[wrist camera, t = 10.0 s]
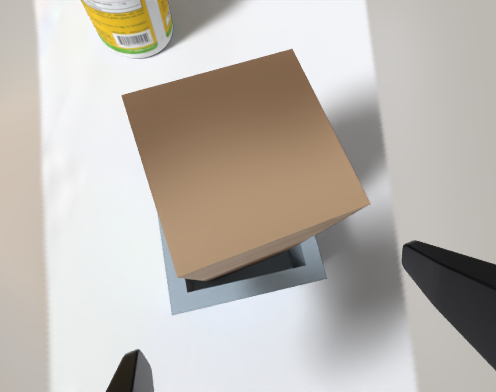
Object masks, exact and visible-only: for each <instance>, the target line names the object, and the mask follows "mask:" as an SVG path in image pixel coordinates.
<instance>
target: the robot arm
mask: <svg viewBox="0 0 496 392" xmlns="http://www.w3.org/2000/svg"><path fill="white" fill-rule="evenodd" d="M402 265H403V267H404V269H405V270H406V271H407V273H408V274H409V275H410V276H411V278H412V279H413V280H414V282H415V283H416V284H417V285H418V287H419V288H420V289H421V290H422V292H423V293H424V294H425V295H426V297H427V298H428V299H429V300H430V302H431V303H432V304H433V305H434V306H435V307H436V309H438V311H439V312H440V313H441V314H442V315H443V316H444V317H445V318H446V319H447V320H448V321H449V322H450V323H451V324H452V325H453V326H454V327H455V328H456V330H458V332H459V333H460V334H461V335H462V336H463V337H464V338H465V339H466V340H467V341H468V342H469V343H470V344H471V345H472V346H473V347H474V348H475V349H476V350H477V352H479V353H480V355H481V356H482V357H483V358H484V359H485V360H486V361H487V362H488V363H489V364H490V365H491V366H492V367H493V368H494V369H495V370H496V265H495V264H492V263H489V262H486V261H482V260H479V259H476V258H472V257H469V256H466V255H463V254H459V253H456V252H453V251H449V250H446V249H443V248H439V247H436V246H433V245H430V244H426V243H423V242H419V241H411V242H409V243H406V244H404V245H403V250H402ZM106 392H154V387H153V378H152V370H151V367H150V364H149V363H148V361H147V359H146V358H145V356H144V355H143V353H142V352H141V351H140V350H139V349H137V350H134V351H131V352H129V353H127V354H125V355H124V357H123V358H122V360H121V362H120V364H119V366H118V368H117V370H116V372H115V374H114V376H113V378H112V380H111V382H110V384H109V386H108V388H107V390H106Z"/></svg>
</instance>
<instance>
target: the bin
mask: <svg viewBox="0 0 496 392" xmlns="http://www.w3.org/2000/svg"><path fill="white" fill-rule="evenodd" d="M158 219H159V216H158ZM159 226H160V233H161V240H162V247H163V255H164V262H165V269H166V276H167V283H168V290H169V297H170V304H171V311H172V315H176V314H180V313H184V312H188V311H193V310H197V309H201V308H205V307H210V306H214V305H218V304H222V303H226V302H231V301H235V300H239V299H243V298H247V297H252V296H256V295H260V294H264V293H269V292H273V291H277V290H281V289H285V288H290V287H294V286H298V285H302V284H306V283H311V282H315V281H319V280H323V279H327V277H326V274H325V270H324V267H323V263H322V260H321V256H320V253H319V249H318V245H317V242H316V238H315V236H313V237H311V238H309V239H308V240H306V241H304V242H302V243H301V244H299V245H297V246H295V247H293V248H292V249H290V250H288V251H286V252H285V253H282V254H280V255H277V256H275V257H272V258H270V259H267V260H264V261H262V262H259V263H257V264H254V265H252V266H249V267H247V268H244V269H241V270H239V271H236V272H234V273H231V274H229V275H226V276H223V277H221V278H218V279H216V280H213V281H211V282H209V281H201V280H193V279H185V278H177V274H176V271H175V268H174V265H173V261H172V258H171V255H170V252H169V248H168V245H167V242H166V239H165V235H164V232H163V229H162V226H161V222H160V219H159Z"/></svg>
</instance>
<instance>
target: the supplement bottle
mask: <svg viewBox="0 0 496 392" xmlns="http://www.w3.org/2000/svg"><path fill="white" fill-rule="evenodd" d="M81 2H82V4H83V6H84V7H85V9H86V11H87V13H88V15H89V17H90V19H91V21H92V23H93V25H94V27H95V28H96V30H97V32H98V34H99V36H100V38H101V40H102V41H103V43H104V44H105V45H106V46H107V48H108V49H110V50H111V51H112V52H114V53H115V54H117V55H120V56H123V57H127V58H145V57H149V56H152V55H154V54H156V53H158V52H160V51H161V50H162V49H163V48H164V47H165V46H166V45H167V44H168V42H169V41H170V39H171V36H172V32H173V23H172V17H171V13H170V8H169V4H168V0H81Z"/></svg>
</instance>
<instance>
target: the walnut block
mask: <svg viewBox="0 0 496 392" xmlns="http://www.w3.org/2000/svg"><path fill="white" fill-rule="evenodd" d="M122 99H123V102H124V105H125V108H126V112H127V115H128V118H129V121H130V125H131V128H132V131H133V134H134V138H135V141H136V144H137V147H138V151H139V154H140V157H141V160H142V164H143V167H144V170H145V173H146V177H147V180H148V183H149V186H150V190H151V193H152V196H153V200H154V203H155V206H156V209H157V213H158V216H159V219H160V222H161V226H162V229H163V232H164V235H165V239H166V242H167V245H168V248H169V252H170V255H171V258H172V261H173V265H174V268H175V271H176V274H177V278H185V279H193V280H201V281H209V282H211V281H213V280H216V279H218V278H221V277H223V276H226V275H229V274H231V273H234V272H236V271H239V270H241V269H244V268H247V267H249V266H252V265H254V264H257V263H259V262H262V261H264V260H267V259H270V258H272V257H275V256H277V255H280V254H282V253H285V252H286V251H288V250H290V249H292V248H293V247H295V246H297V245H299V244H301V243H302V242H304V241H306V240H308V239H309V238H311V237H313V236H315V235H316V234H318V233H320V232H322V231H324V230H325V229H327V228H329V227H331V226H332V225H334V224H336V223H338V222H340V221H341V220H343V219H345V218H347V217H348V216H350V215H352V214H354V213H355V212H357V211H359V210H361V209H363V208H364V207H366V206H368V205H370V202H369V200H368V198H367V196H366V194H365V192H364V190H363V188H362V186H361V184H360V182H359V180H358V178H357V176H356V174H355V172H354V170H353V168H352V166H351V164H350V162H349V160H348V158H347V156H346V154H345V152H344V150H343V148H342V146H341V144H340V142H339V140H338V138H337V136H336V134H335V133H334V131H333V129H332V127H331V125H330V123H329V121H328V119H327V117H326V115H325V113H324V111H323V109H322V107H321V105H320V103H319V101H318V99H317V97H316V95H315V93H314V91H313V89H312V87H311V85H310V83H309V81H308V79H307V77H306V75H305V73H304V71H303V69H302V67H301V65H300V63H299V61H298V59H297V57H296V55H295V53H294V51H293V49H290V50H286V51H283V52H279V53H275V54H272V55H268V56H264V57H261V58H257V59H253V60H250V61H246V62H242V63H239V64H235V65H231V66H228V67H224V68H220V69H216V70H213V71H209V72H205V73H202V74H198V75H194V76H191V77H187V78H183V79H180V80H176V81H172V82H169V83H165V84H161V85H158V86H154V87H150V88H147V89H143V90H139V91H136V92H132V93H128V94H125V95H122Z"/></svg>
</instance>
